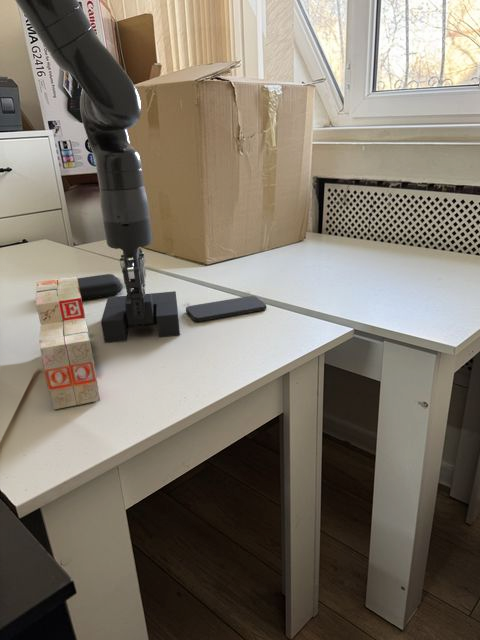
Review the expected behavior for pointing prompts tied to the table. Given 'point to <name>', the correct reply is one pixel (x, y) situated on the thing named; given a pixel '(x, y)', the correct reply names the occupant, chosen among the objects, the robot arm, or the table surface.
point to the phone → (225, 308)
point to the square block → (148, 310)
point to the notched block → (118, 325)
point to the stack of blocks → (65, 343)
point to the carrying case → (99, 286)
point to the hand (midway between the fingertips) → (140, 312)
